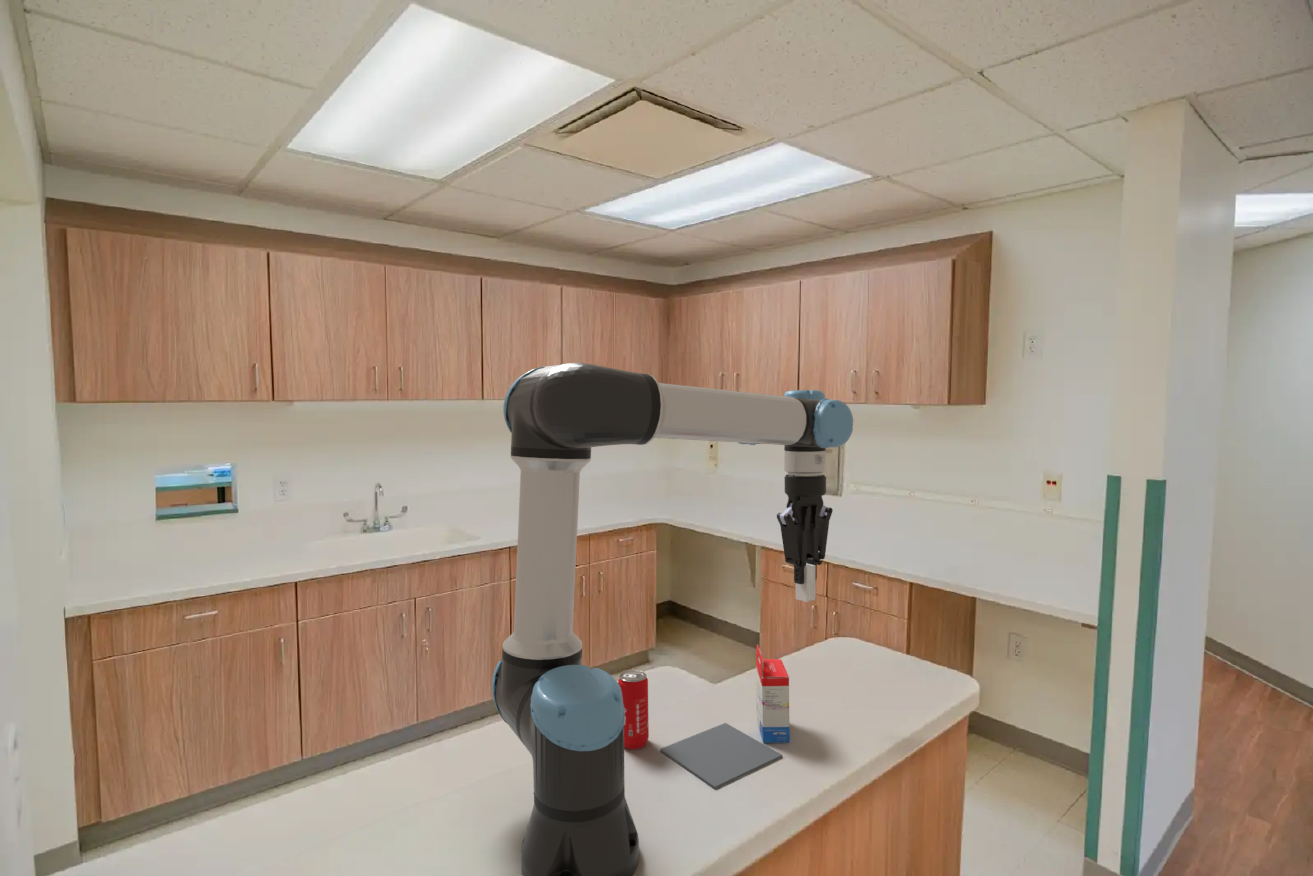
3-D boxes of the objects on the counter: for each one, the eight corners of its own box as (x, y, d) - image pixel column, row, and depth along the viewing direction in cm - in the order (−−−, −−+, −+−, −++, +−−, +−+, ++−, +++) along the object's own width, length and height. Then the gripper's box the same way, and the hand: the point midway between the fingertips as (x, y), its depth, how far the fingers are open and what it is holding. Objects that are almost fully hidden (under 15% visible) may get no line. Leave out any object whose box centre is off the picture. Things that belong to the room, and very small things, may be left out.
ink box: (790, 744, 112) (790, 660, 111) (762, 744, 112) (761, 660, 112) (782, 720, 121) (781, 643, 120) (755, 720, 121) (755, 643, 120)
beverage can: (645, 752, 110) (644, 682, 109) (615, 749, 111) (614, 680, 111) (651, 737, 115) (650, 670, 115) (623, 734, 116) (622, 668, 116)
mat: (714, 789, 99) (714, 786, 99) (660, 751, 110) (660, 749, 110) (782, 757, 108) (782, 754, 108) (725, 725, 119) (725, 722, 119)
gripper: (795, 478, 113) (795, 611, 114) (845, 472, 121) (845, 597, 122) (763, 474, 119) (764, 601, 120) (814, 469, 127) (814, 588, 128)
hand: (805, 599), depth 121 cm, fingers closed
